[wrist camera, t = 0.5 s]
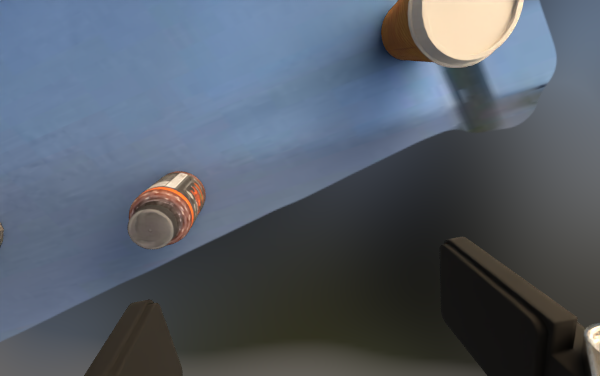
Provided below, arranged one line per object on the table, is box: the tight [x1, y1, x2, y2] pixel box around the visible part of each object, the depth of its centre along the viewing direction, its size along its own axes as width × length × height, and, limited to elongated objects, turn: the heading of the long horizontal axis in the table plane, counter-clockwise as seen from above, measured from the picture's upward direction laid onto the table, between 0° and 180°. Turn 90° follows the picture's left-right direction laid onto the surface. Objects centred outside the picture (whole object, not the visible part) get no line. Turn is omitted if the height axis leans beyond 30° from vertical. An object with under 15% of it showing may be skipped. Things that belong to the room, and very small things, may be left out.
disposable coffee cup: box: [381, 0, 523, 68], centre depth 30 cm, size 10×10×12 cm
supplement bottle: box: [128, 171, 205, 249], centre depth 33 cm, size 6×6×11 cm
